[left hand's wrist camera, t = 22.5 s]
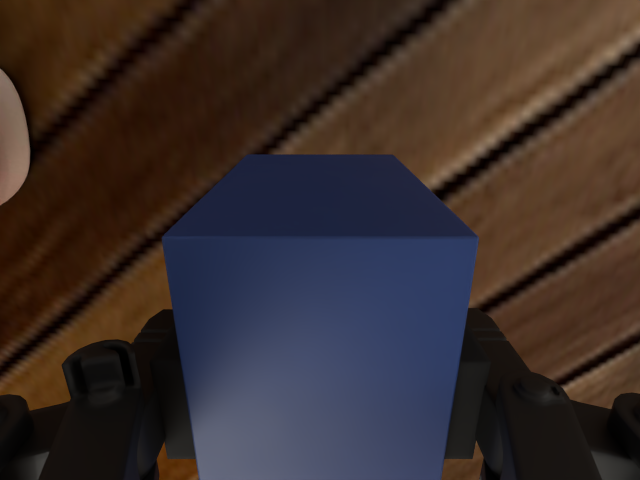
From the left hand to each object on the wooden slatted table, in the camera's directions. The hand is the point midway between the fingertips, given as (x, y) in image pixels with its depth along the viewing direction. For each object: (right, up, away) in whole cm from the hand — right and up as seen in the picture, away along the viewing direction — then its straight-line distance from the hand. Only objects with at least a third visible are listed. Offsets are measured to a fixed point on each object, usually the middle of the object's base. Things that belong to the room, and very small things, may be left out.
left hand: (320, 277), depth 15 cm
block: (0, +1, +2) cm, 2 cm away
